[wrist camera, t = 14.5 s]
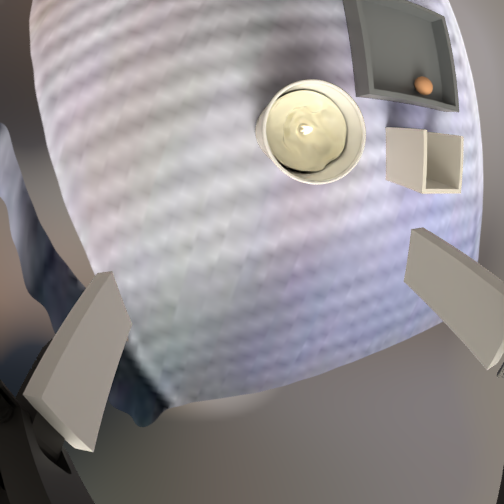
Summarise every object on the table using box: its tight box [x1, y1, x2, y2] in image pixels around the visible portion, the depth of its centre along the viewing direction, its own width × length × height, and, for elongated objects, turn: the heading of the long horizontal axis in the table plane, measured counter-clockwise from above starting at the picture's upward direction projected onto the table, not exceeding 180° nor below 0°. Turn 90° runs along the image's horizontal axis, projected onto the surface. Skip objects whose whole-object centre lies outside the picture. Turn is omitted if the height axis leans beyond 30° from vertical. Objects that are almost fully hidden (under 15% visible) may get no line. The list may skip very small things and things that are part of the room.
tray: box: [343, 0, 459, 112], centre depth 27 cm, size 18×18×4 cm
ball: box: [414, 76, 433, 95], centre depth 29 cm, size 3×3×3 cm
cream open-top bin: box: [385, 127, 463, 194], centre depth 32 cm, size 8×8×9 cm
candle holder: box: [255, 79, 366, 184], centre depth 28 cm, size 10×10×12 cm
